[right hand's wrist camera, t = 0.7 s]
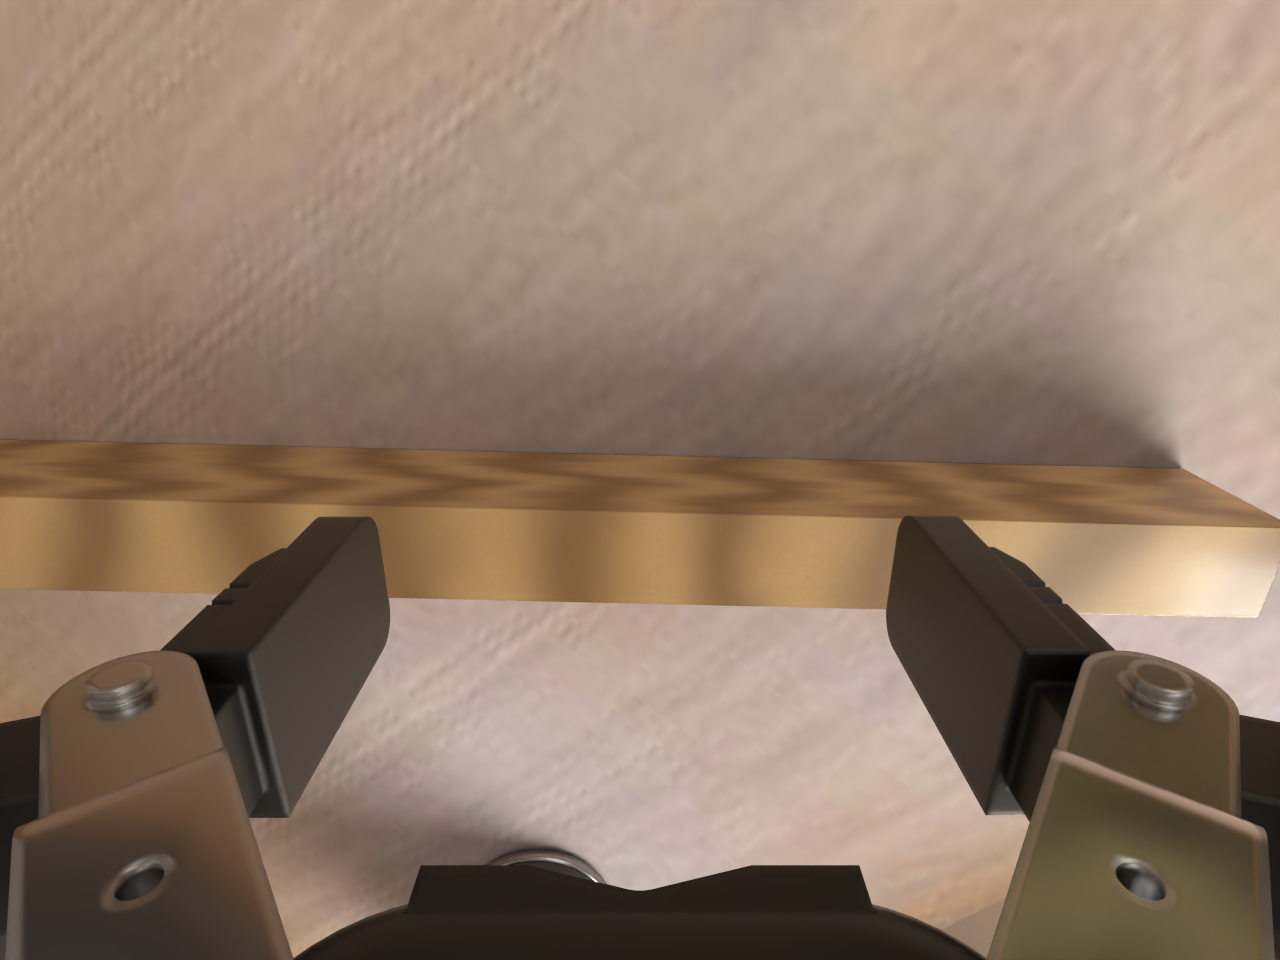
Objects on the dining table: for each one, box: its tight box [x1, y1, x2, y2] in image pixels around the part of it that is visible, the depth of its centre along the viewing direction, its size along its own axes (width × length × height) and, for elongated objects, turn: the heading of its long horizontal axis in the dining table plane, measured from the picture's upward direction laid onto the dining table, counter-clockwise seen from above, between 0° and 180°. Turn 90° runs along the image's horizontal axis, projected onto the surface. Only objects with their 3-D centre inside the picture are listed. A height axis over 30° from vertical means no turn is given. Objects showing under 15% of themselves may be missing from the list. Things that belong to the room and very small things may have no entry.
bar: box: [0, 439, 1280, 618], centre depth 34 cm, size 61×4×7 cm, turn 89°
